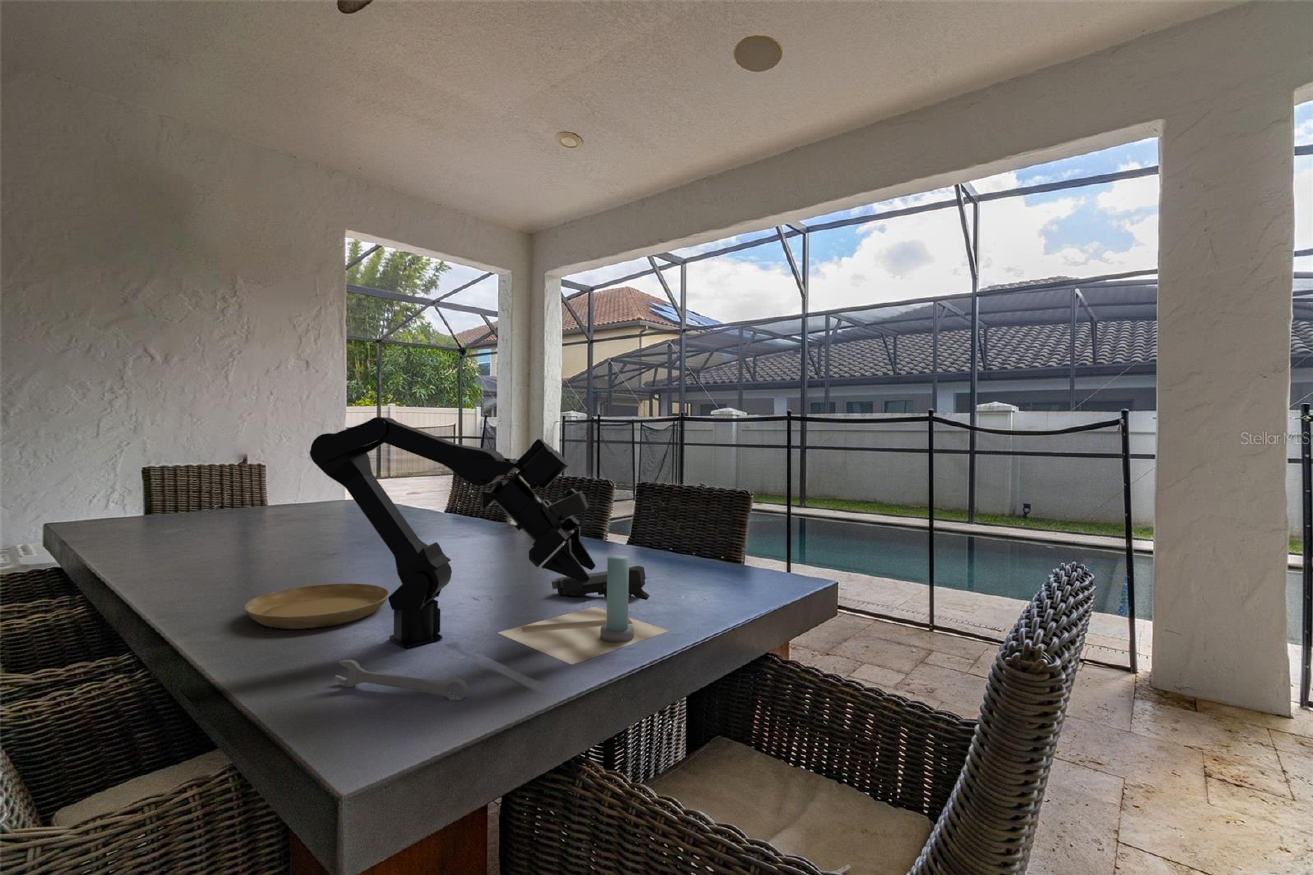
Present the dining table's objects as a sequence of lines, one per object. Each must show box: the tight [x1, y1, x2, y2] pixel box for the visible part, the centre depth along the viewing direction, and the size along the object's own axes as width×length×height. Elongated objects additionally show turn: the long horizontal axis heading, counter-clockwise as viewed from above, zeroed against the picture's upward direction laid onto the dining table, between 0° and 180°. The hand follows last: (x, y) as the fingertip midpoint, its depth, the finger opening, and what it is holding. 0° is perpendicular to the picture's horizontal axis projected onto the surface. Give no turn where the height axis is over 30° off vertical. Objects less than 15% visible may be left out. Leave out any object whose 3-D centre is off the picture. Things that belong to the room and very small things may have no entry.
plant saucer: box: [244, 582, 390, 630], centre depth 116 cm, size 24×24×3 cm
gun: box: [551, 565, 651, 601], centre depth 130 cm, size 4×20×10 cm, turn 77°
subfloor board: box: [497, 606, 671, 666], centre depth 105 cm, size 22×20×1 cm
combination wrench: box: [334, 659, 469, 701], centre depth 82 cm, size 4×1×20 cm
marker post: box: [600, 554, 634, 643], centre depth 102 cm, size 6×6×14 cm
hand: (591, 574), depth 102 cm, fingers open, 9 cm apart
